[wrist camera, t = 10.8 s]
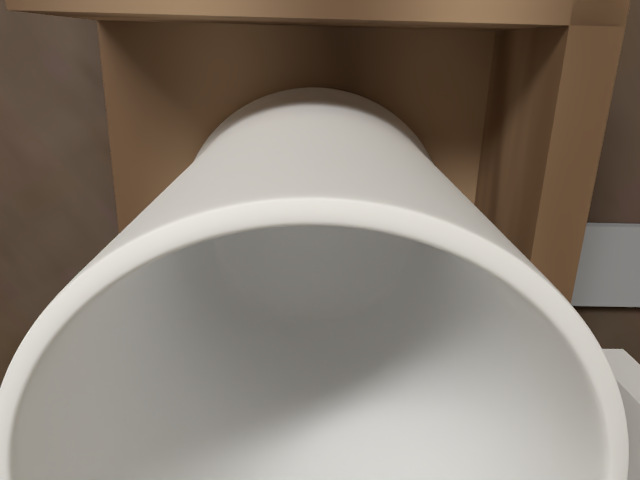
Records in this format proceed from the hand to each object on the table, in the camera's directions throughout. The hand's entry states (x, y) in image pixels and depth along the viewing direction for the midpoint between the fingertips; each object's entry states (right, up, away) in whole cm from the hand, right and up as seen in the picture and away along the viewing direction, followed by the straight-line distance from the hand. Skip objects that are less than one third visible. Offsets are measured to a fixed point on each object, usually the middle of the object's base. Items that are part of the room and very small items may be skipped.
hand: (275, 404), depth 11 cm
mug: (+1, +3, +8) cm, 8 cm away
